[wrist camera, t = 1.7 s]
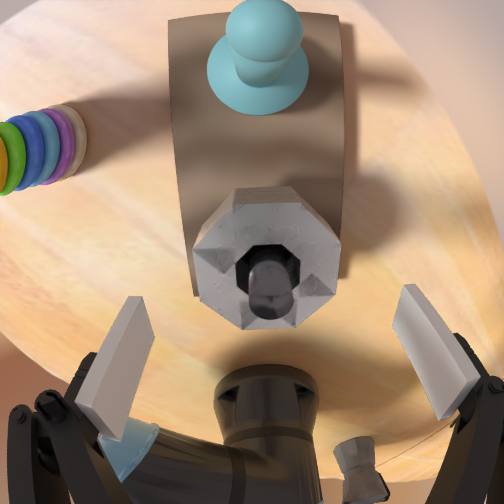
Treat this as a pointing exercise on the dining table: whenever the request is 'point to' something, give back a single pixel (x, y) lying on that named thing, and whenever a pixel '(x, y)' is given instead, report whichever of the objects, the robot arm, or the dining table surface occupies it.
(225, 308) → the steel ring
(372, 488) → the coffeepot
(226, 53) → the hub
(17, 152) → the stacking toy
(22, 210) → the dining table surface
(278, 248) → the stand rod
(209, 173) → the walnut board
